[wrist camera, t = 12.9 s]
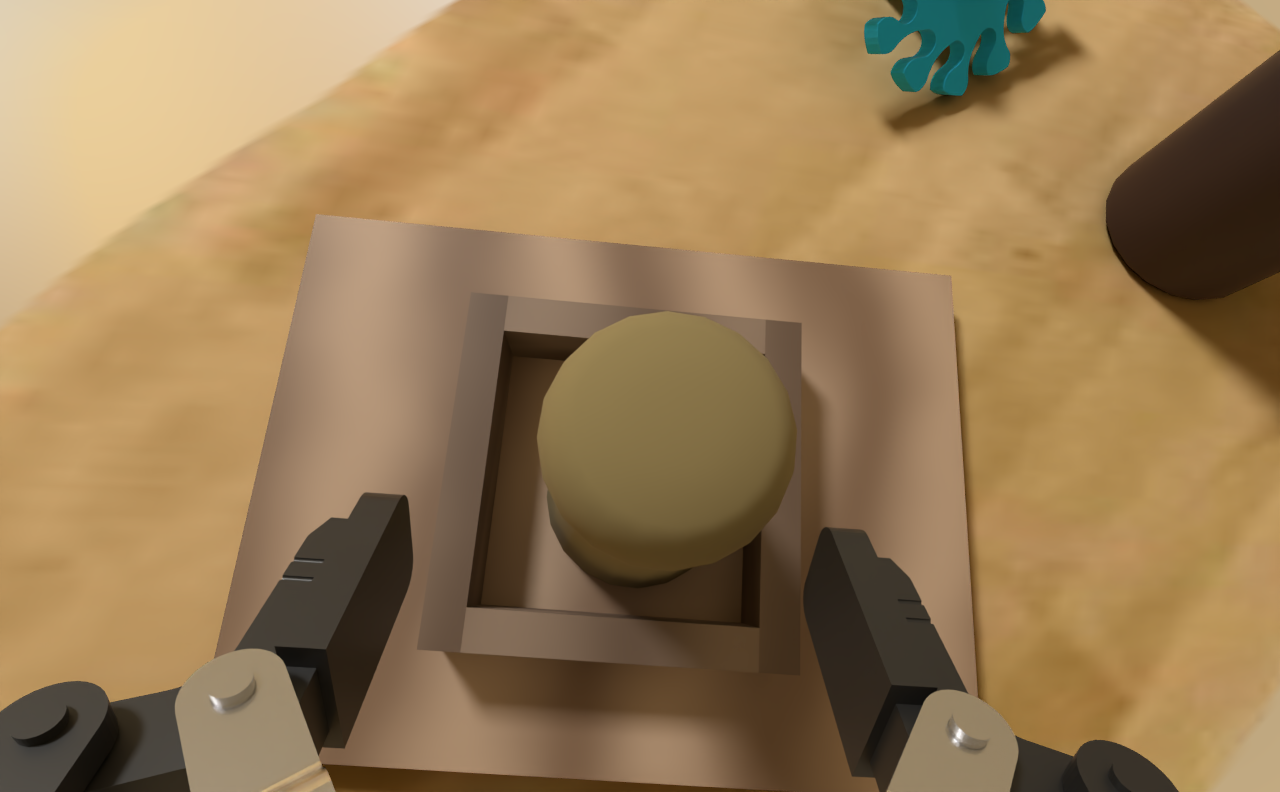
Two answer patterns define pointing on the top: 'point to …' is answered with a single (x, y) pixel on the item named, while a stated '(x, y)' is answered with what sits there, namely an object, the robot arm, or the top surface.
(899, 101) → the top surface
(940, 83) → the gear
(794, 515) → the jig board
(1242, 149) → the bottle
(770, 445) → the cork
